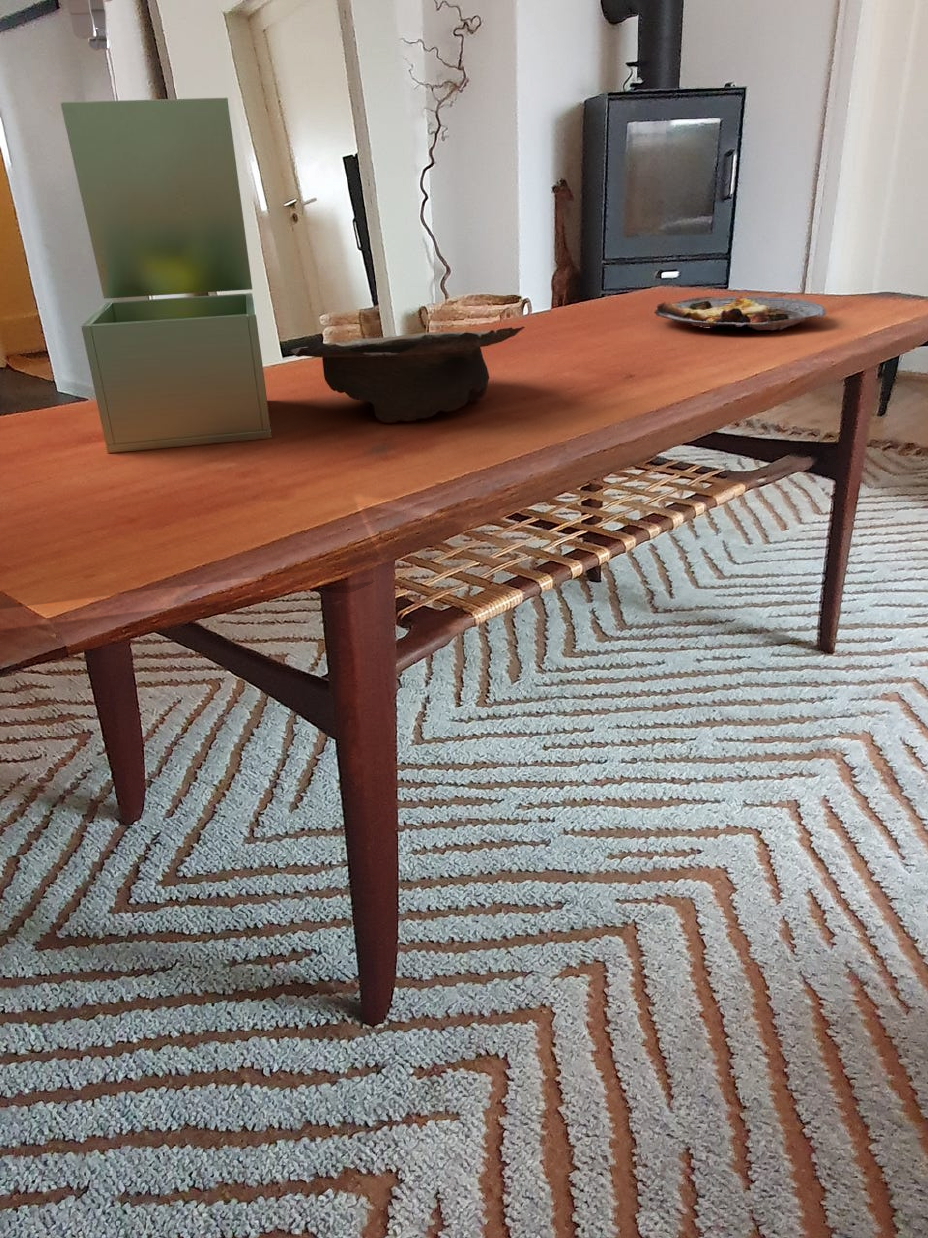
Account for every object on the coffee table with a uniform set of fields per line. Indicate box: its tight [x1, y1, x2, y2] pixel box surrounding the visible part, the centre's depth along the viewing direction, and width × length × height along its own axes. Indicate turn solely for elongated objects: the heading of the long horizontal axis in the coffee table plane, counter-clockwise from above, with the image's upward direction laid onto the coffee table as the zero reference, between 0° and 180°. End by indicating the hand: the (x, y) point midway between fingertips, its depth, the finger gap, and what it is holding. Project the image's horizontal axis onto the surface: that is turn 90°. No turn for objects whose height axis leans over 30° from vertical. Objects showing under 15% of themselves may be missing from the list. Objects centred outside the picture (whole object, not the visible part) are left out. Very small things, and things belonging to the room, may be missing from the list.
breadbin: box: [80, 292, 273, 454], centre depth 96 cm, size 18×16×12 cm
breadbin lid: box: [60, 97, 253, 300], centre depth 97 cm, size 18×16×5 cm
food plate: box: [654, 295, 827, 331], centre depth 143 cm, size 25×23×4 cm
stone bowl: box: [290, 326, 526, 424], centre depth 102 cm, size 25×25×9 cm
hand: (93, 44), depth 89 cm, fingers open, 8 cm apart
